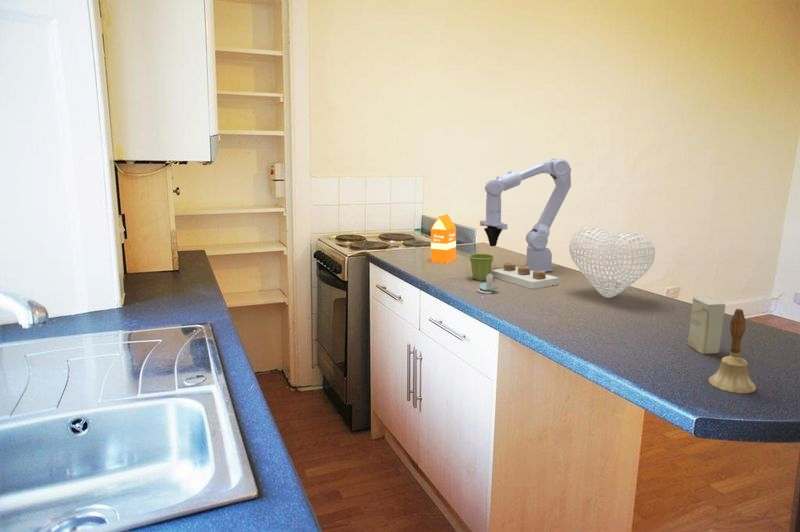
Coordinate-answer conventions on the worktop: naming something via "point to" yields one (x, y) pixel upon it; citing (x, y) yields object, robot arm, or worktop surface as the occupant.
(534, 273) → the knob
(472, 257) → the plant pot
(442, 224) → the orange juice
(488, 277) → the pacifier
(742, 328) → the hand bell
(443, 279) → the worktop surface
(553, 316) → the worktop surface
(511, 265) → the knob
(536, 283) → the mount plate
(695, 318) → the skincare box
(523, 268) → the knob middle
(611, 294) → the heart
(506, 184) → the robot arm
